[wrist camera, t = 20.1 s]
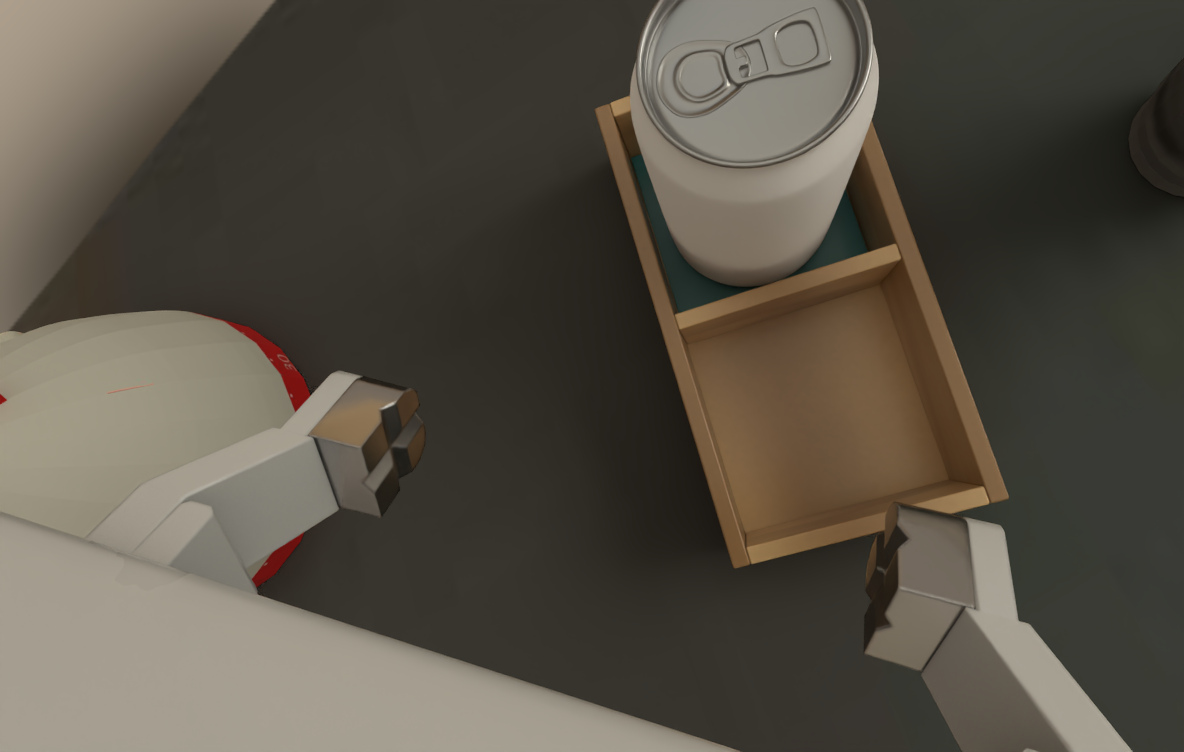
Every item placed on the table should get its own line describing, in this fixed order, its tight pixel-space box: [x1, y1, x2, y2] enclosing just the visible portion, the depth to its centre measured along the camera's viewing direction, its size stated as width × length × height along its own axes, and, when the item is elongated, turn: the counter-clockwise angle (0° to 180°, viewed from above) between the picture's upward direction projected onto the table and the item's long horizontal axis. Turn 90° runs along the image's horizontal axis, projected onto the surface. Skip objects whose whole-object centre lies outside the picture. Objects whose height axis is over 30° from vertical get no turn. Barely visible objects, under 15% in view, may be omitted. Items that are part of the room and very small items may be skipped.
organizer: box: [595, 96, 1009, 568], centre depth 27 cm, size 9×17×5 cm, turn 16°
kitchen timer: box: [0, 311, 310, 587], centre depth 27 cm, size 14×14×15 cm
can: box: [630, 0, 879, 287], centre depth 23 cm, size 6×6×12 cm
